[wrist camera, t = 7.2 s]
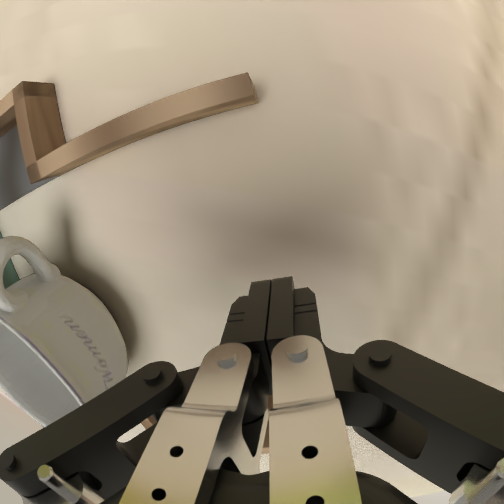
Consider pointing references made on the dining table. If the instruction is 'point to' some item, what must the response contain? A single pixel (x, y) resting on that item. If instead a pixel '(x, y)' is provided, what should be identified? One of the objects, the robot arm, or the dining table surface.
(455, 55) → the dining table surface
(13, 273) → the teal wooden tray
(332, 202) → the dining table surface
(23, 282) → the teacup
